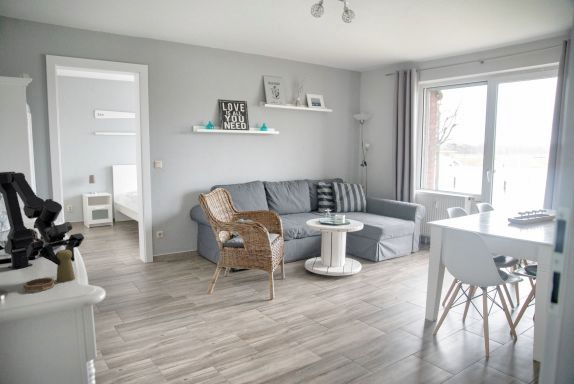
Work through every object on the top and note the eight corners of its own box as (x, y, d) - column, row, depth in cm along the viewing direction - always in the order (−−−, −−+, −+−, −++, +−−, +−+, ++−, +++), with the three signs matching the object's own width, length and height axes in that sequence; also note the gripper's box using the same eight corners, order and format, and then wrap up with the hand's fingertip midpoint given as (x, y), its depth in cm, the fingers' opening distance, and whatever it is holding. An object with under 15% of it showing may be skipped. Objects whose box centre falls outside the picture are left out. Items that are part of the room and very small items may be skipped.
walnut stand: (18, 289, 138) (18, 284, 138) (44, 282, 145) (44, 276, 145) (33, 293, 134) (33, 288, 133) (59, 285, 141) (59, 280, 141)
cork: (66, 282, 144) (64, 252, 143) (52, 281, 146) (50, 252, 144) (78, 277, 150) (76, 248, 149) (64, 276, 152) (62, 247, 150)
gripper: (27, 219, 140) (47, 255, 135) (79, 212, 155) (98, 243, 151) (18, 239, 145) (36, 274, 140) (69, 230, 160) (87, 261, 156)
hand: (66, 262), depth 147 cm, fingers closed on cork, 5 cm apart
